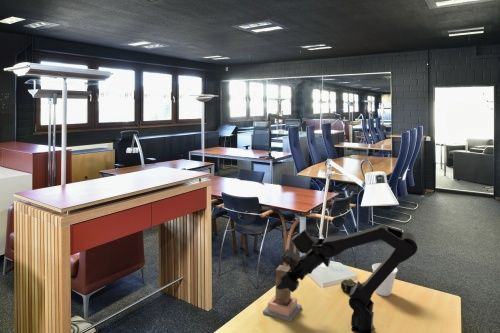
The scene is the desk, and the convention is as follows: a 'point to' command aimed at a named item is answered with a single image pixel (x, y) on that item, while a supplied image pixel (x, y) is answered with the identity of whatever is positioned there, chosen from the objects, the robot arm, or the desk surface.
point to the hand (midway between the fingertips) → (279, 285)
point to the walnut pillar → (282, 294)
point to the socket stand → (282, 309)
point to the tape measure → (347, 285)
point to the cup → (385, 282)
